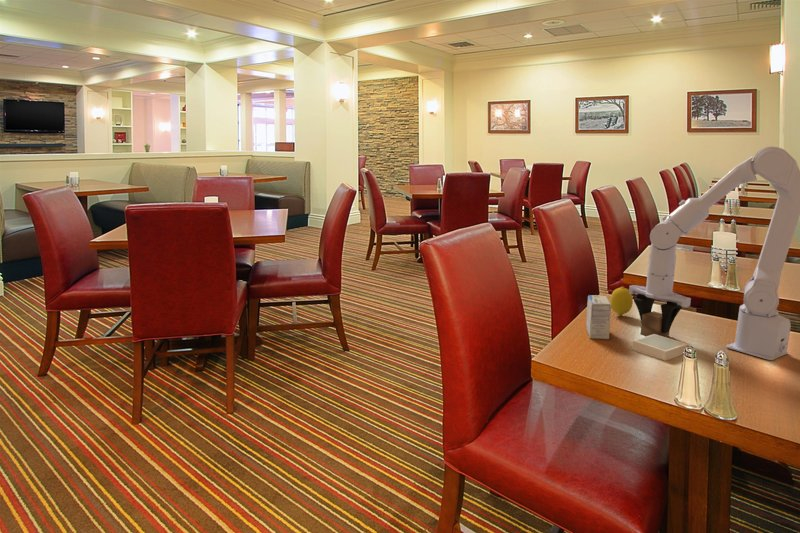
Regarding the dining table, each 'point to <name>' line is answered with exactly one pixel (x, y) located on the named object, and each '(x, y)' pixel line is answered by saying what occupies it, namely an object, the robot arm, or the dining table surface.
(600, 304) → the medicine box
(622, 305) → the lemon
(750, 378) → the dining table surface
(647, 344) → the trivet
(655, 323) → the walnut block
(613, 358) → the dining table surface
